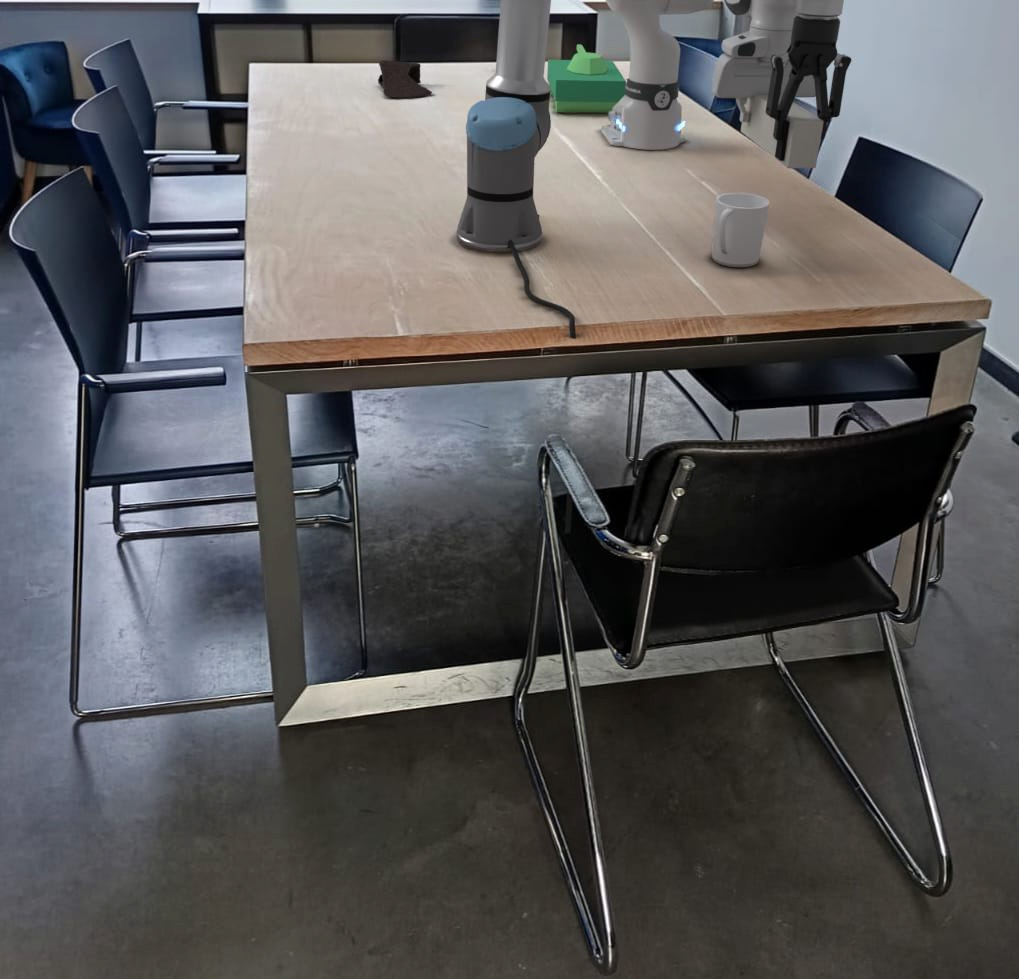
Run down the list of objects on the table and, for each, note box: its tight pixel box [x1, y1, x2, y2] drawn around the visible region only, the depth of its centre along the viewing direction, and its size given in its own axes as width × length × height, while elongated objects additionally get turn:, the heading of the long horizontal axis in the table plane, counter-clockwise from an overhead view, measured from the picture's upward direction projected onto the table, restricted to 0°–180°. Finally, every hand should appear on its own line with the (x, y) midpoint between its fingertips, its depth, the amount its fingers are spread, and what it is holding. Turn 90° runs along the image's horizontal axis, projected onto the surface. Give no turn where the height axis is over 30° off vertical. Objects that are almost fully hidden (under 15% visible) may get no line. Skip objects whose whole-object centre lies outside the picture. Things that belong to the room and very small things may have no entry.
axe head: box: [377, 59, 433, 99], centre depth 299 cm, size 18×8×15 cm
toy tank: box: [546, 44, 627, 114], centre depth 291 cm, size 18×12×35 cm
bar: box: [740, 94, 824, 169], centre depth 199 cm, size 26×5×8 cm, turn 8°
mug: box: [711, 192, 770, 268], centre depth 186 cm, size 11×9×10 cm
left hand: (795, 158), depth 192 cm, fingers closed on bar, 5 cm apart
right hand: (761, 121), depth 207 cm, fingers closed on bar, 5 cm apart
